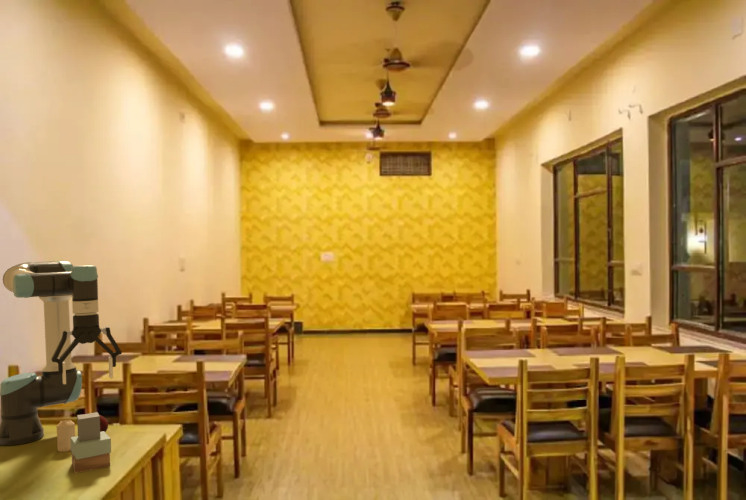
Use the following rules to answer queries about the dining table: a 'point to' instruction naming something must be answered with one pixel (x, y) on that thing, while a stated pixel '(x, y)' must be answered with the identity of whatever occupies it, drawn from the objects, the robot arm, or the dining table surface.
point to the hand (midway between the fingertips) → (88, 380)
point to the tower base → (91, 462)
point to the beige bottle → (65, 435)
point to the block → (88, 426)
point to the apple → (103, 424)
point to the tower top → (91, 446)
